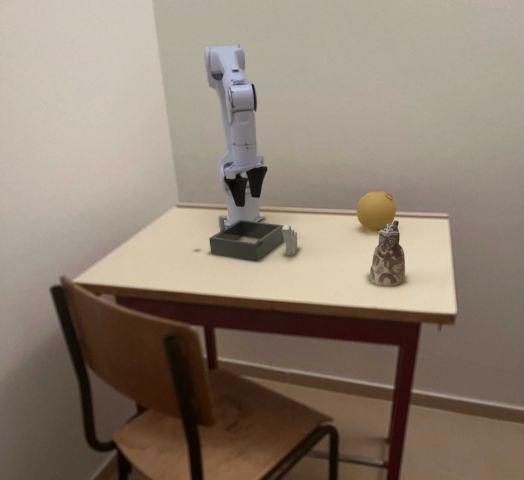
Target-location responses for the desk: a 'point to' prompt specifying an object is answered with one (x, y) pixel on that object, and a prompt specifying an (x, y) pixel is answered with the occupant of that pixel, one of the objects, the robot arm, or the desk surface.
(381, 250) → the figurine
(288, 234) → the lighter
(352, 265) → the desk surface
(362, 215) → the stress ball
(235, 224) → the sink
